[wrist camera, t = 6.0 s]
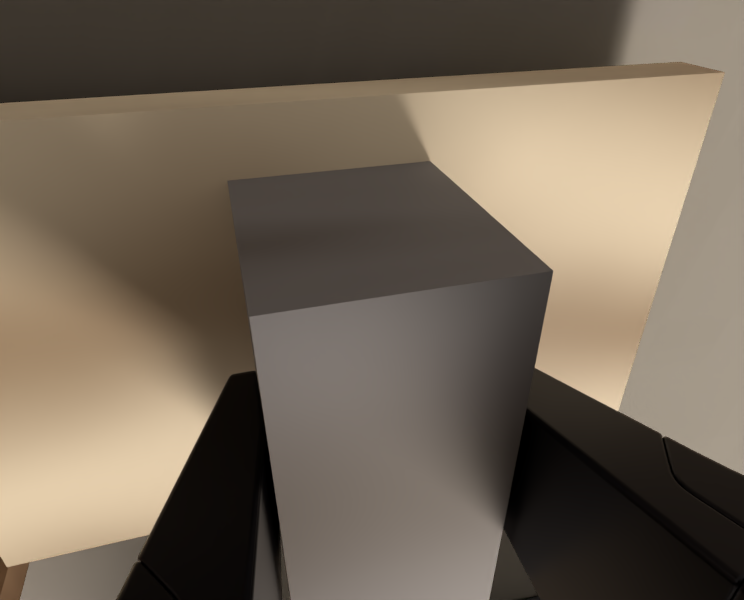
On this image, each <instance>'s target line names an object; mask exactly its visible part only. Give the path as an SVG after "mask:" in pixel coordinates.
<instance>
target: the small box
mask: <svg viewBox="0 0 744 600" xmlns="http://www.w3.org/2000/svg"><path fill="white" fill-rule="evenodd" d="M524 600H540V598H539V596H537V597H533V598H529V599H524Z"/></svg>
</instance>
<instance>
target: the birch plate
mask: <svg viewBox="0 0 744 600" xmlns="http://www.w3.org/2000/svg"><path fill="white" fill-rule="evenodd" d="M724 74H725V72H721V71H717V70H713V69H709V68H704V67H700V66H696V65H692V64H687V63H683V62H670V63H654V64H637V65H621V66H605V67H588V68H572V69H555V70H539V71H522V72H506V73H489V74H473V75H457V76H440V77H424V78H407V79H391V80H374V81H358V82H341V83H325V84H308V85H292V86H276V87H259V88H243V89H226V90H210V91H193V92H177V93H160V94H144V95H128V96H111V97H95V98H78V99H62V100H45V101H29V102H12V103H0V557H1V558H2V560H3V562H4V563H5V565H6V567H10V566H15V565H19V564H23V563H28V562H32V561H37V560H41V559H45V558H50V557H54V556H58V555H63V554H67V553H72V552H76V551H80V550H85V549H89V548H94V547H98V546H102V545H107V544H111V543H115V542H120V541H124V540H129V539H133V538H137V537H142V536H146V535H149V534H150V532H151V530H152V528H153V526H154V524H155V522H156V520H157V518H158V516H159V514H160V512H161V511H162V509H163V507H164V505H165V503H166V501H167V499H168V497H169V495H170V493H171V491H172V489H173V487H174V485H175V483H176V481H177V479H178V477H179V475H180V473H181V471H182V469H183V467H184V465H185V463H186V461H187V459H188V457H189V455H190V453H191V451H192V449H193V447H194V445H195V443H196V441H197V439H198V437H199V435H200V433H201V431H202V429H203V427H204V425H205V423H206V421H207V419H208V417H209V415H210V413H211V411H212V410H213V408H214V406H215V404H216V402H217V400H218V398H219V396H220V394H221V392H222V390H223V388H224V386H225V384H226V382H227V380H228V378H229V376H231V375H232V374H236V373H242V372H247V371H256V374H257V380H258V387H259V393H260V399H261V405H262V412H263V418H264V424H265V431H266V437H267V444H268V451H269V458H270V464H271V471H272V478H273V484H274V491H275V498H276V505H277V511H278V518H279V525H280V535H281V541H282V548H283V554H284V561H285V567H286V573H287V580H288V586H289V593H290V599H291V600H489V598H490V593H491V588H492V583H493V578H494V572H495V567H496V562H497V557H498V552H499V547H500V542H501V537H502V532H503V526H504V521H505V516H506V511H507V506H508V501H509V496H510V491H511V486H512V480H513V475H514V470H515V465H516V460H517V455H518V450H519V445H520V440H521V434H522V429H523V424H524V419H525V414H526V409H527V404H528V399H529V394H530V388H531V383H532V378H533V373H534V368H536V369H538V370H540V371H542V372H544V373H546V374H548V375H550V376H552V377H554V378H555V379H557V380H559V381H561V382H563V383H565V384H567V385H569V386H571V387H573V388H575V389H576V390H578V391H580V392H582V393H584V394H586V395H588V396H590V397H592V398H594V399H596V400H597V401H599V402H601V403H603V404H605V405H607V406H609V407H611V408H613V409H615V410H617V411H618V410H619V406H620V403H621V400H622V397H623V394H624V391H625V387H626V384H627V381H628V378H629V375H630V372H631V368H632V365H633V362H634V359H635V356H636V353H637V349H638V346H639V343H640V340H641V337H642V334H643V330H644V327H645V324H646V321H647V318H648V314H649V311H650V308H651V305H652V302H653V299H654V295H655V292H656V289H657V286H658V283H659V280H660V276H661V273H662V270H663V267H664V264H665V261H666V257H667V254H668V251H669V248H670V245H671V242H672V238H673V235H674V232H675V229H676V226H677V223H678V219H679V216H680V213H681V210H682V207H683V204H684V200H685V197H686V194H687V191H688V188H689V185H690V181H691V178H692V175H693V172H694V169H695V166H696V162H697V159H698V156H699V153H700V150H701V147H702V143H703V140H704V137H705V134H706V131H707V128H708V124H709V121H710V118H711V115H712V112H713V109H714V105H715V102H716V99H717V96H718V93H719V90H720V86H721V83H722V80H723V77H724Z"/></svg>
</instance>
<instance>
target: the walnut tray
mask: <svg viewBox="0 0 744 600" xmlns="http://www.w3.org/2000/svg"><path fill="white" fill-rule="evenodd" d="M28 565H29V562H28V563H23V564H19V565H15V566H10V567H6V565H5V563H4V562H3V560H2V558H1V557H0V600H20V596H21V592H22V589H23V585H24V581H25V577H26V573H27V569H28Z"/></svg>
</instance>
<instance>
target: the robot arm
mask: <svg viewBox="0 0 744 600" xmlns="http://www.w3.org/2000/svg"><path fill="white" fill-rule="evenodd" d="M503 528H504V530H505V532H506V534H507V536H508V538H509V540H510V542H511V544H512V546H513V548H514V550H515V551H516V553H517V555H518V557H519V559H520V561H521V563H522V565H523V567H524V569H525V571H526V573H527V575H528V577H529V579H530V580H531V582H532V584H533V586H534V588H535V590H536V592H537V594H538V596H539V598H540V600H744V475H742V474H740V473H738V472H736V471H733V470H731V469H729V468H727V467H725V466H723V465H721V464H719V463H717V462H715V461H713V460H711V459H709V458H707V457H705V456H703V455H701V454H699V453H697V452H695V451H693V450H691V449H689V448H688V447H686V446H684V445H682V444H680V443H678V442H676V441H674V440H672V439H670V438H668V437H663V438H662V435H661V434H660V433H659V432H657V431H655V430H653V429H651V428H649V427H647V426H645V425H643V424H641V423H639V422H638V421H636V420H634V419H632V418H630V417H628V416H626V415H624V414H622V413H620V412H618V411H617V410H615V409H613V408H611V407H609V406H607V405H605V404H603V403H601V402H599V401H597V400H596V399H594V398H592V397H590V396H588V395H586V394H584V393H582V392H580V391H578V390H576V389H575V388H573V387H571V386H569V385H567V384H565V383H563V382H561V381H559V380H557V379H555V378H554V377H552V376H550V375H548V374H546V373H544V372H542V371H540V370H538V369H536V368H534V373H533V378H532V383H531V388H530V394H529V399H528V404H527V409H526V414H525V419H524V424H523V429H522V434H521V440H520V445H519V450H518V455H517V460H516V465H515V470H514V475H513V480H512V486H511V491H510V496H509V501H508V506H507V511H506V516H505V521H504V526H503ZM138 561H139V562H136V563H135V564H134V565H133V567H132V569H131V571H130V573H129V575H128V577H127V579H126V581H125V583H124V585H123V587H122V589H121V591H120V593H119V595H118V597H117V599H116V600H282V586H281V547H280V525H279V518H278V511H277V505H276V498H275V491H274V484H273V478H272V471H271V464H270V458H269V451H268V444H267V437H266V431H265V424H264V418H263V412H262V405H261V399H260V393H259V387H258V380H257V374H256V371H247V372H242V373H236V374H232V375H231V376H229V378H228V380H227V382H226V384H225V386H224V388H223V390H222V392H221V394H220V396H219V398H218V400H217V402H216V404H215V406H214V408H213V410H212V411H211V413H210V415H209V417H208V419H207V421H206V423H205V425H204V427H203V429H202V431H201V433H200V435H199V437H198V439H197V441H196V443H195V445H194V447H193V449H192V451H191V453H190V455H189V457H188V459H187V461H186V463H185V465H184V467H183V469H182V471H181V473H180V475H179V477H178V479H177V481H176V483H175V485H174V487H173V489H172V491H171V493H170V495H169V497H168V499H167V501H166V503H165V505H164V507H163V509H162V511H161V512H160V514H159V516H158V518H157V520H156V522H155V524H154V526H153V528H152V530H151V532H150V534H149V536H148V538H147V540H146V542H145V544H144V546H143V548H142V550H141V552H140V554H139V556H138Z"/></svg>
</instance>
